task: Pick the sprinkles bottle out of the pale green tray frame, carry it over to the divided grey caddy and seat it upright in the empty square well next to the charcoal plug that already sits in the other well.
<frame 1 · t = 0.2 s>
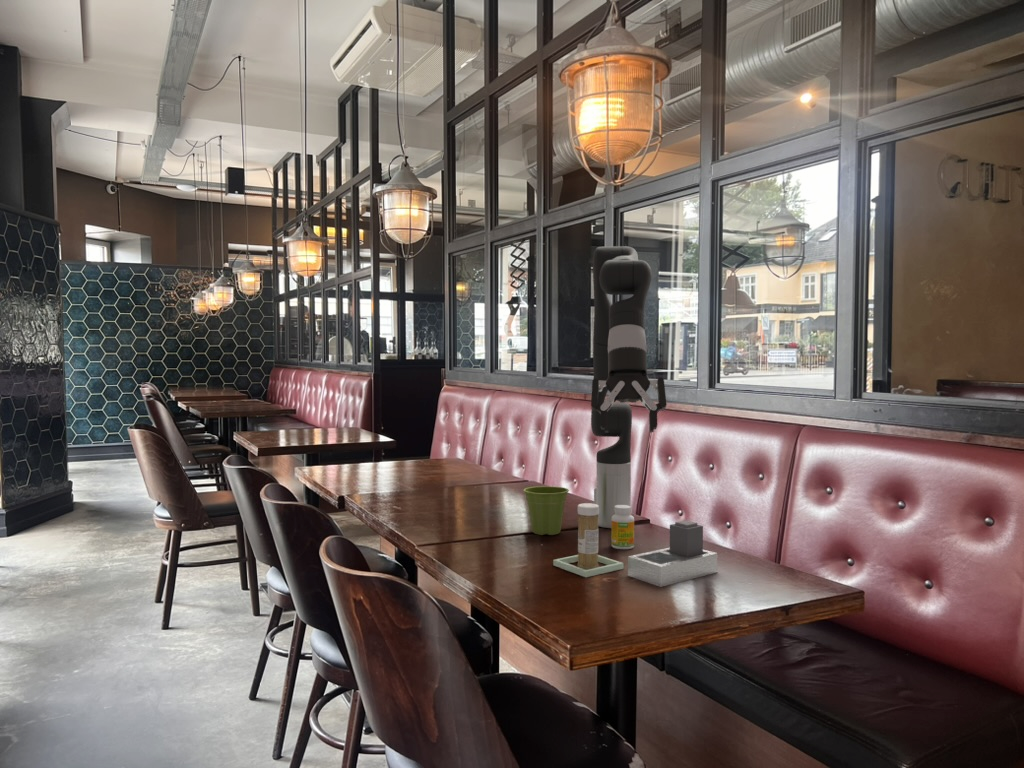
hand: (628, 431, 133), 31 cm above the table, tool tilted 20°, fingers open, 8 cm apart
grey stepped square plug: (686, 570, 147), resting on divided grey caddy
plant pot: (546, 533, 181), on the table
sprinkles bottle: (588, 568, 150), resting in tray frame
tray frame: (588, 567, 150), on the table
supplement bottle: (622, 547, 167), on the table
divided grey caddy: (673, 574, 145), on the table
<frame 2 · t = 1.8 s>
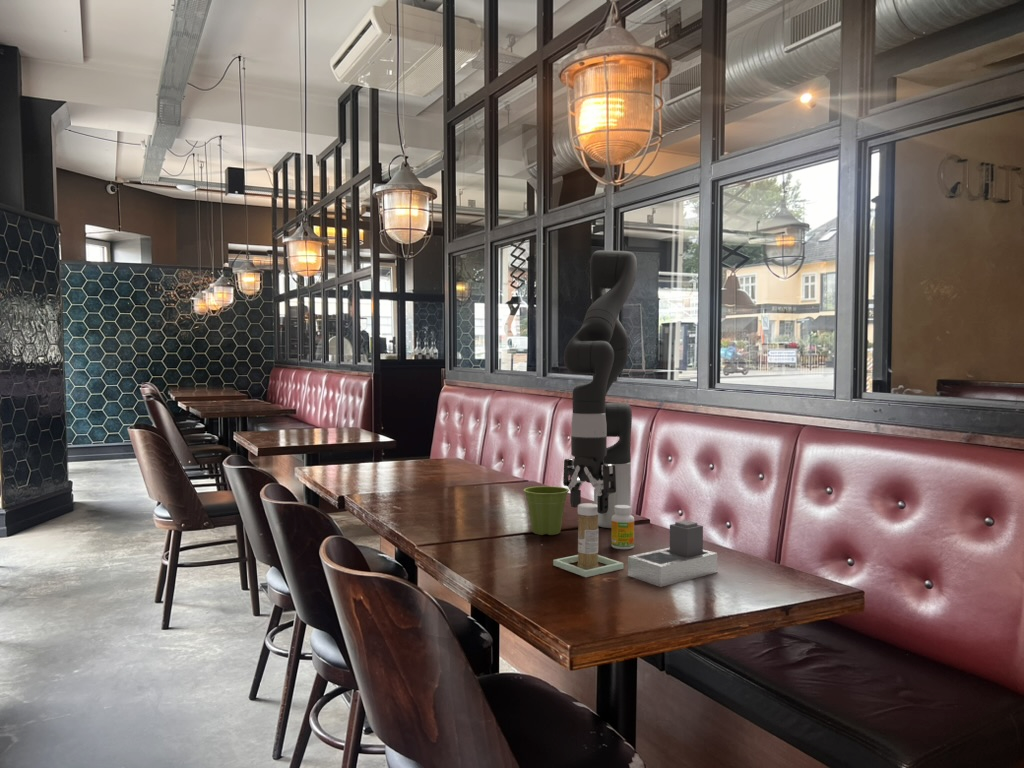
hand: (588, 510, 149), 12 cm above the table, tool pointing down, fingers open, 8 cm apart
nothing on the table moved.
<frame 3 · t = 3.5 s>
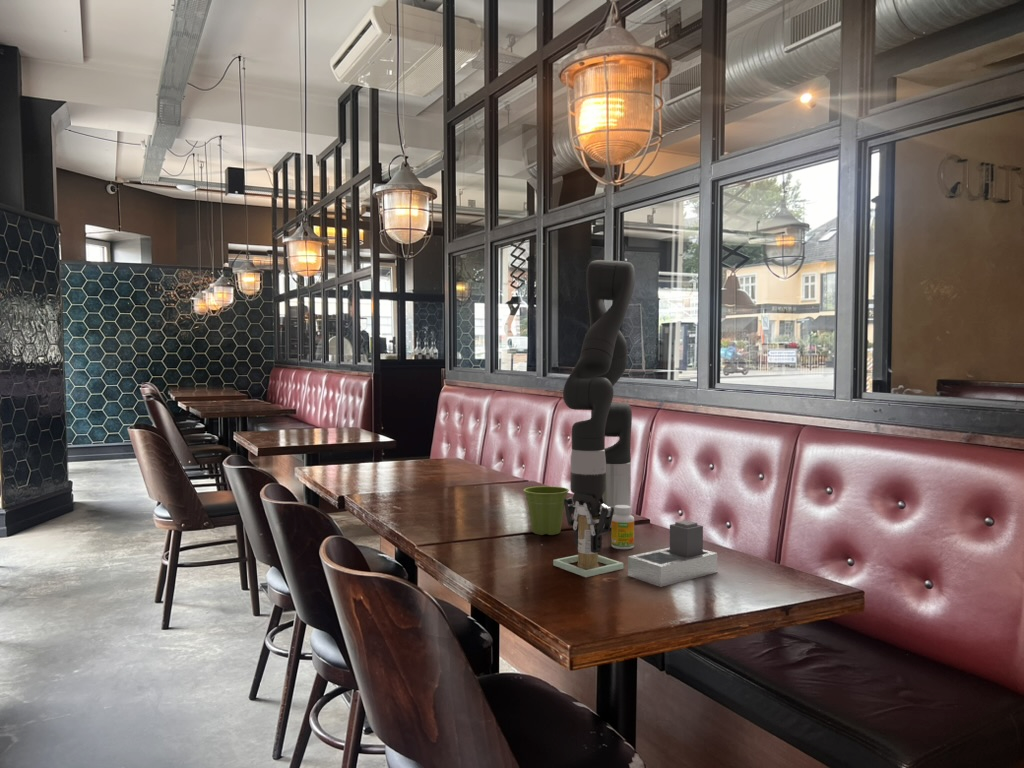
hand: (587, 549, 150), 4 cm above the table, tool pointing down, fingers closed on sprinkles bottle, 4 cm apart
sprinkles bottle: (588, 568, 150), resting in tray frame, touching gripper
everything else where it was.
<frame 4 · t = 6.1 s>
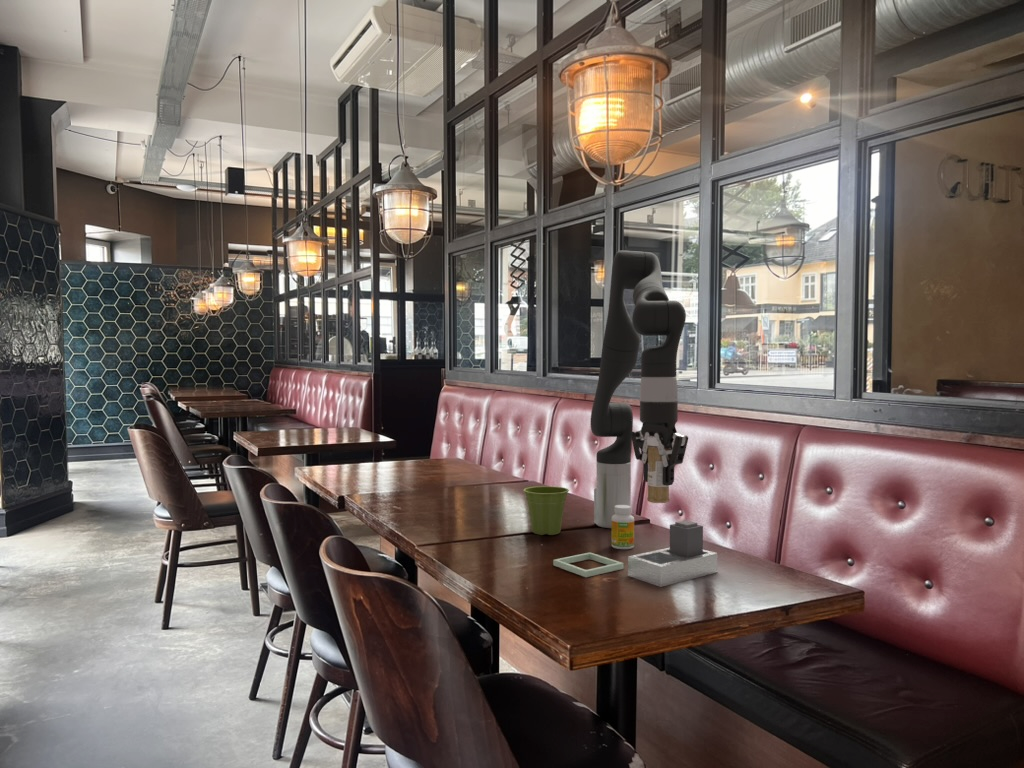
hand: (658, 482, 142), 19 cm above the table, tool pointing down, fingers closed on sprinkles bottle, 4 cm apart
sprinkles bottle: (658, 502, 142), point 15 cm above the table, touching gripper
everything else where it was.
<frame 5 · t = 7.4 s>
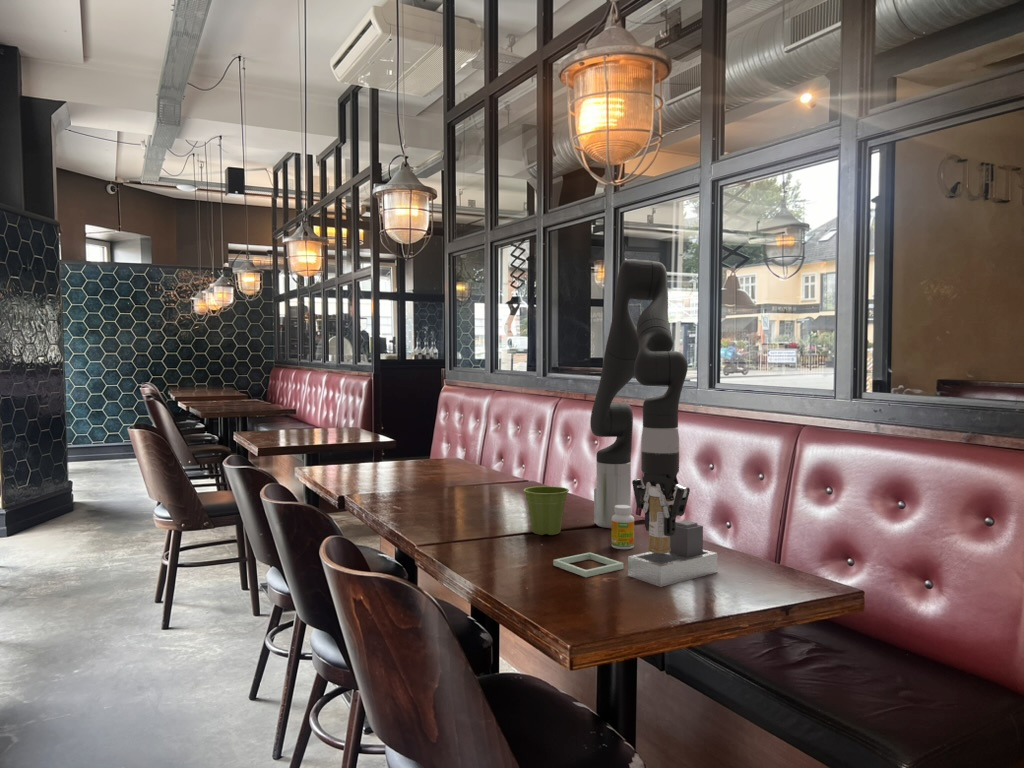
hand: (659, 532, 142), 9 cm above the table, tool pointing down, fingers closed on sprinkles bottle, 4 cm apart
sprinkles bottle: (659, 552, 142), point 5 cm above the table, touching gripper
everything else where it was.
when the fingers open (5 cm above the table, at t = 8.5 s): sprinkles bottle stays where it is, resting on divided grey caddy.
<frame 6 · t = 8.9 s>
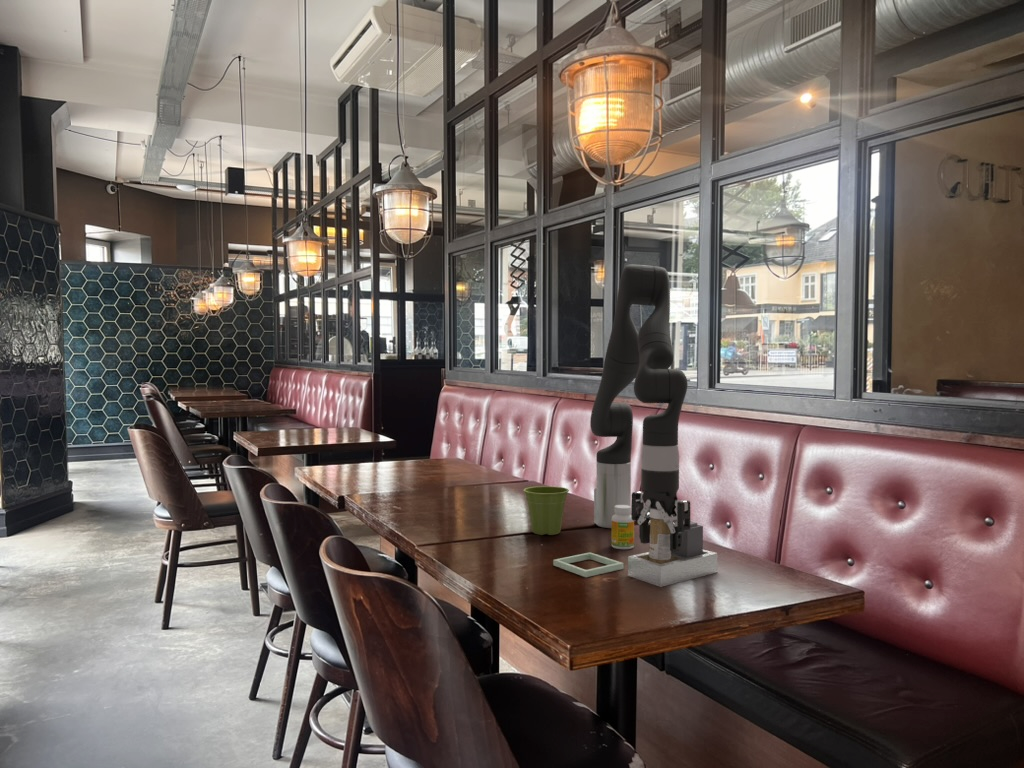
hand: (659, 546, 142), 6 cm above the table, tool pointing down, fingers open, 7 cm apart
sprinkles bottle: (659, 574, 142), resting on divided grey caddy
everything else where it was.
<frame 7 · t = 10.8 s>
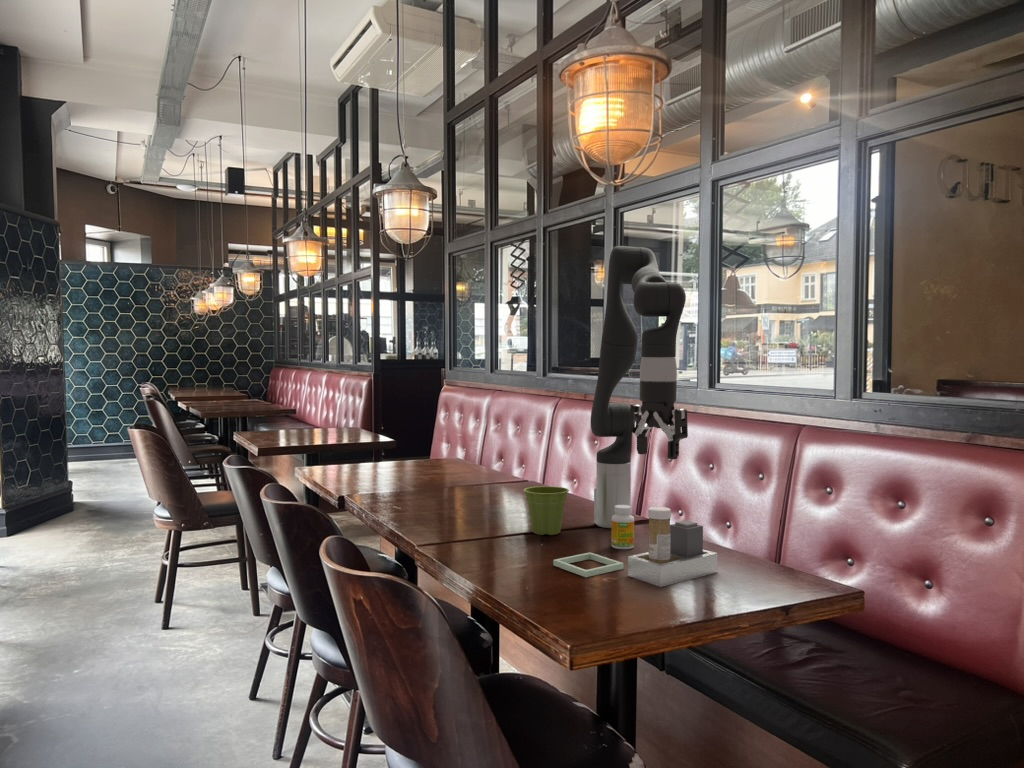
hand: (657, 456, 146), 24 cm above the table, tool pointing down, fingers open, 8 cm apart
nothing on the table moved.
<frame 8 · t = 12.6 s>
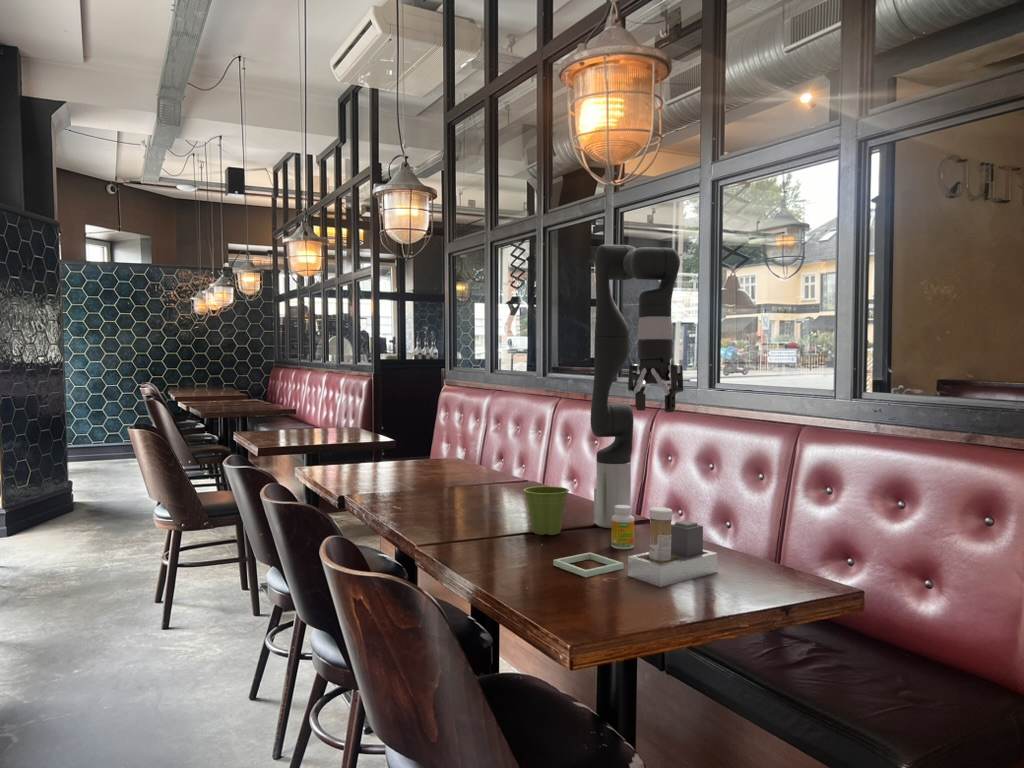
hand: (654, 411, 155), 33 cm above the table, tool pointing down, fingers open, 8 cm apart
nothing on the table moved.
at the end: sprinkles bottle 0.1 cm from the target spot on the divided grey caddy, point 0.4 cm above the divided grey caddy's base; sprinkles bottle tilted 1°; the gripper is holding nothing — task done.
